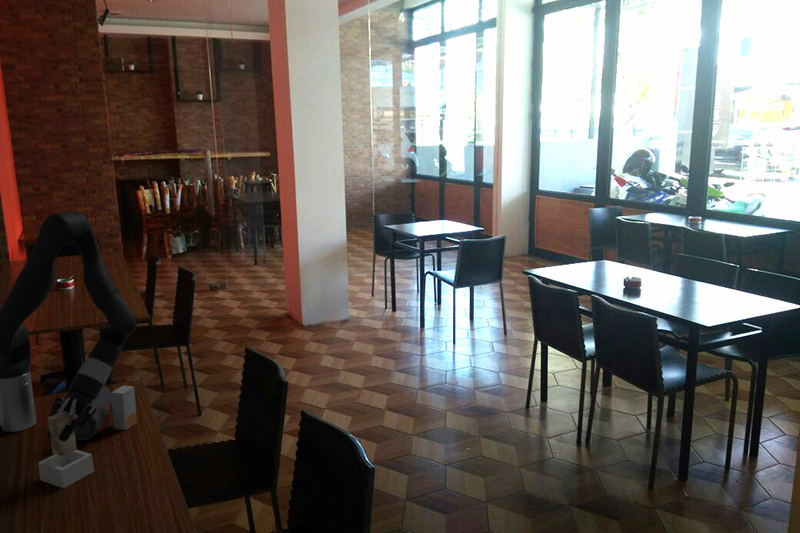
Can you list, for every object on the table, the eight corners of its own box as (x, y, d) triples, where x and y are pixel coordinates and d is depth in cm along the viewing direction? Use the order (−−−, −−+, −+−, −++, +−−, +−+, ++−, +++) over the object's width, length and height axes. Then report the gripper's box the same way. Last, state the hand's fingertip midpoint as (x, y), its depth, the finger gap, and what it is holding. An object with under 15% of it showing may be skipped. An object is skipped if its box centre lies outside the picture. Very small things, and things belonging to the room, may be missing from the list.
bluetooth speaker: (101, 442, 186) (97, 410, 184) (66, 446, 183) (62, 414, 181) (115, 410, 207) (112, 381, 205) (84, 413, 205) (81, 384, 203)
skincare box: (126, 430, 193) (122, 393, 190) (113, 429, 194) (109, 392, 191) (137, 421, 199) (134, 386, 196) (125, 420, 199) (122, 385, 197)
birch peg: (52, 453, 165) (47, 417, 163) (66, 446, 168) (61, 411, 166) (63, 456, 163) (58, 420, 161) (76, 449, 167) (72, 414, 164)
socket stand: (40, 480, 165) (38, 462, 164) (70, 464, 173) (68, 447, 172) (63, 488, 161) (61, 470, 160) (93, 471, 169) (92, 454, 168)
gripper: (63, 368, 171) (26, 428, 163) (100, 376, 165) (64, 439, 157) (82, 380, 177) (48, 438, 169) (118, 388, 171) (84, 449, 163)
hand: (55, 438), depth 163 cm, fingers closed on birch peg, 4 cm apart
